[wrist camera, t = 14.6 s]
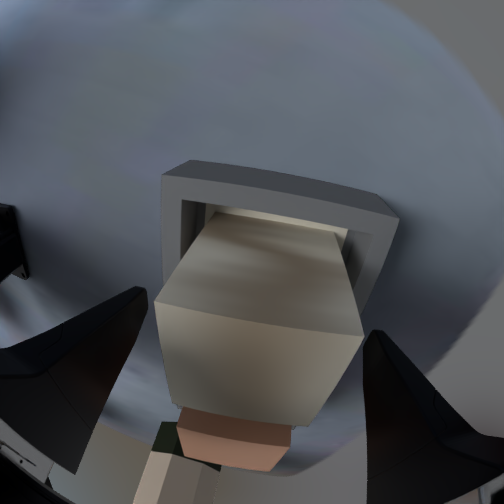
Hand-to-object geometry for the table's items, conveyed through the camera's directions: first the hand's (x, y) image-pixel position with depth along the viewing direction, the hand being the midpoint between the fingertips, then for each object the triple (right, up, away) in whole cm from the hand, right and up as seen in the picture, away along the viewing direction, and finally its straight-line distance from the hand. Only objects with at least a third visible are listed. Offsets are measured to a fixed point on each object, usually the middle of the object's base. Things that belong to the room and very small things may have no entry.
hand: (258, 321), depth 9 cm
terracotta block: (-1, -5, +7) cm, 8 cm away
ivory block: (0, +2, +3) cm, 3 cm away
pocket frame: (0, -1, +6) cm, 6 cm away
